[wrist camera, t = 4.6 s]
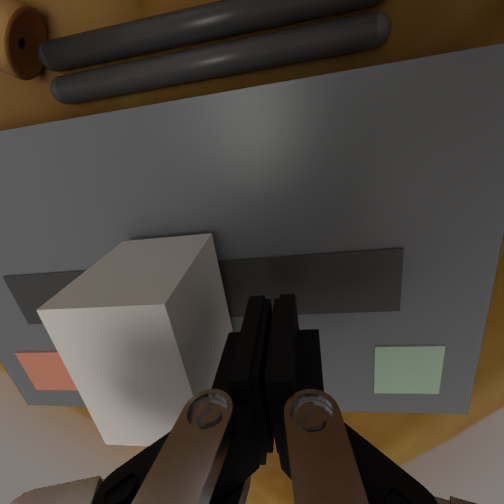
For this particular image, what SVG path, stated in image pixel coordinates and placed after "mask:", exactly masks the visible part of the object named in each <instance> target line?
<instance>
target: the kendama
mask: <svg viewBox="0 0 504 504" xmlns="http://www.w3.org/2000/svg"><path fill="white" fill-rule="evenodd" d="M47 40H48V35H47V29H46V26H45V23H44V21H43V18H42V17H41V15H40V14H39V12H38V11H37V10H36V9H35V8H33V7H32V6H29V5H27V4H25V3H22V2H19V1H16V0H0V70H2V71H4V72H6V73H8V74H10V75H12V76H14V77H16V78H19V79H21V80H30V79H33V78H35V77H36V76H37V75H38V74H39V73H40V72H41V71H42V69H43V67H44V65H43V64H42V63H41V62H40V60H39V58H38V54H37V50H38V46H39V45H40V44H41V43H42V42H44V41H47Z"/></svg>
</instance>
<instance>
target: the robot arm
mask: <svg viewBox="0 0 504 504" xmlns="http://www.w3.org/2000/svg"><path fill="white" fill-rule="evenodd" d="M274 438H275V443H276V448H277V453H279V458H280V463H281V469H282V470H283V471H284V472H285V473H286V474H287V476H288V477H289V478H290V479H291V480H292V487H293V496H294V504H476V503H472V502H469V501H465V500H462V499H458V498H455V497H451V496H450V501H449V500H445V499H442V498H438V497H435V496H433V495H432V494H431V493H430V492H429V491H428V490H427V489H426V488H425V487H424V486H422V485H421V484H420V483H419V482H418V481H416V480H415V479H414V478H413V477H411V476H410V475H409V474H408V473H406V472H405V471H404V470H403V469H402V468H400V467H399V466H398V465H397V464H395V463H394V462H393V461H392V460H390V459H389V458H388V457H387V456H385V455H384V454H383V453H382V452H380V451H379V450H378V449H377V448H375V447H374V446H373V445H372V444H370V443H369V442H368V441H367V440H365V439H364V438H363V437H362V436H360V435H359V434H358V433H357V432H355V431H354V430H353V429H352V428H350V427H349V426H348V425H347V424H346V423H344V421H343V418H342V415H341V412H340V408H339V406H338V404H337V402H336V401H335V400H334V399H333V398H332V397H331V396H330V395H329V394H327V393H325V392H324V385H323V373H322V361H321V350H320V338H319V329H305V330H299V322H298V313H297V305H296V296H295V293H293V294H280V298H275V299H274V305H273V311H272V304H271V299H266V298H265V296H264V295H258V296H249V299H248V303H247V307H246V311H245V315H244V318H243V322H242V326H241V330H240V332H230V333H229V334H228V336H227V340H226V343H225V346H224V349H223V353H222V356H221V359H220V362H219V366H218V369H217V372H216V375H215V379H214V382H213V385H212V388H211V389H208V390H204V391H201V392H199V393H197V394H195V395H194V396H193V397H192V398H191V399H189V400H188V402H187V403H186V405H185V406H184V408H183V409H182V411H181V413H180V415H179V417H178V419H177V421H176V422H175V424H174V426H173V428H172V430H171V431H170V432H168V433H167V434H166V435H164V436H163V437H161V438H160V439H158V440H157V441H156V442H154V443H153V444H151V445H150V446H148V447H147V448H146V449H144V450H143V451H141V452H140V453H139V454H137V455H136V456H134V457H133V458H132V459H130V460H129V461H127V462H126V463H124V464H123V465H122V466H120V467H119V468H117V469H116V470H115V471H113V472H112V473H111V474H110V475H109V476H108V477H107V478H106V479H101V477H100V476H96V477H91V478H86V479H82V480H77V481H72V482H67V483H63V484H57V485H53V486H48V487H43V488H38V489H34V490H31V491H28V492H26V493H24V494H22V495H21V496H19V497H18V498H16V499H15V500H13V502H12V503H10V504H245V503H246V499H247V496H248V492H249V488H250V482H251V475H252V474H253V473H254V472H255V471H256V470H257V469H258V468H259V466H260V465H266V456H267V453H272V452H273V445H274Z"/></svg>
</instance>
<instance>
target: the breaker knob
mask: <svg viewBox="0 0 504 504" xmlns="http://www.w3.org/2000/svg"><path fill="white" fill-rule="evenodd" d="M36 311H37V313H38V315H39V317H40V319H41V320H42V322H43V324H44V326H45V328H46V330H47V332H48V334H49V336H50V338H51V340H52V342H53V343H54V345H55V347H56V349H57V351H58V353H59V355H60V357H61V359H62V361H63V363H64V365H65V367H66V368H67V370H68V372H69V374H70V376H71V378H72V380H73V382H74V384H75V386H76V388H77V390H78V392H79V393H80V395H81V397H82V399H83V401H84V403H85V405H86V407H87V409H88V411H89V413H90V415H91V417H92V418H93V420H94V422H95V424H96V426H97V428H98V430H99V432H100V434H101V435H102V437H103V440H104V442H105V443H106V444H109V445H131V446H150V445H151V444H153V443H154V442H156V441H157V440H158V439H160V438H161V437H163V436H164V435H166V434H167V433H168V432H170V431H171V430H172V428H173V426H174V424H175V422H176V421H177V419H178V417H179V415H180V413H181V411H182V409H183V408H184V406H185V405H186V403H187V402H188V400H189V399H191V398H192V397H193V396H194V395H195V394H197V393H199V392H201V391H204V390H208V389H211V388H212V385H213V382H214V379H215V375H216V372H217V369H218V366H219V362H220V359H221V356H222V353H223V349H224V346H225V343H226V340H227V336H228V334H229V333H230V332H233V330H232V325H231V321H230V316H229V312H228V307H227V302H226V298H225V293H224V288H223V284H222V279H221V274H220V270H219V265H218V260H217V256H216V251H215V246H214V242H213V237H212V233H209V234H198V235H186V236H175V237H164V238H152V239H141V240H130V241H123V242H121V243H120V244H119V245H117V246H116V247H115V248H114V249H112V250H111V251H110V252H109V253H107V254H106V255H105V256H104V257H102V258H101V259H100V260H99V261H97V262H96V263H95V264H94V265H92V266H91V267H90V268H89V269H87V270H86V271H85V272H84V273H82V274H81V275H80V276H78V277H77V278H76V279H75V280H73V281H72V282H71V283H70V284H68V285H67V286H66V287H65V288H63V289H62V290H61V291H60V292H58V293H57V294H56V295H55V296H53V297H52V298H51V299H50V300H48V301H47V302H46V303H44V304H43V305H42V306H41V307H39V308H38V309H37V310H36Z"/></svg>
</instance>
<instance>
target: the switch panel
mask: <svg viewBox="0 0 504 504" xmlns="http://www.w3.org/2000/svg"><path fill="white" fill-rule="evenodd" d="M383 1H384V0H221V1H216V2H212V3H208V4H203V5H199V6H195V7H190V8H186V9H182V10H177V11H173V12H169V13H164V14H160V15H156V16H151V17H147V18H143V19H138V20H134V21H130V22H125V23H121V24H117V25H112V26H108V27H104V28H99V29H95V30H91V31H86V32H82V33H78V34H73V35H69V36H65V37H60V38H56V39H52V40H47V41H44V42H42V43H41V44H40V45H39V46H38V50H37V54H38V58H39V60H40V62H41V63H42V64H43V65H44V66H45V67H46V68H47V69H49V70H51V71H56V72H57V71H64V70H68V69H73V68H78V67H83V66H88V65H92V64H97V63H102V62H107V61H112V60H116V59H121V58H126V57H131V56H136V55H140V54H145V53H150V52H155V51H160V50H164V49H169V48H174V47H179V46H184V45H189V44H193V43H198V42H203V41H208V40H213V39H217V38H222V37H227V36H232V35H237V34H241V33H246V32H251V31H256V30H261V29H265V28H270V27H275V26H280V25H285V24H289V23H294V22H299V21H304V20H309V19H313V18H318V17H323V16H328V15H333V14H337V13H342V12H347V11H352V10H357V9H361V8H366V7H371V6H375V5H378V4H380V3H381V2H383ZM390 32H391V20H390V18H389V16H388V15H387V14H386V13H384V12H382V11H375V12H370V13H365V14H360V15H355V16H350V17H346V18H341V19H336V20H331V21H326V22H321V23H316V24H311V25H306V26H302V27H297V28H292V29H287V30H282V31H277V32H272V33H267V34H263V35H258V36H253V37H248V38H243V39H238V40H233V41H228V42H223V43H219V44H214V45H209V46H204V47H199V48H194V49H189V50H184V51H180V52H175V53H170V54H165V55H160V56H155V57H150V58H145V59H141V60H136V61H131V62H126V63H121V64H116V65H111V66H106V67H101V68H97V69H92V70H87V71H82V72H77V73H72V74H67V75H62V76H58V77H55V78H54V79H53V80H52V81H51V84H50V90H51V93H52V95H53V96H54V98H55V99H56V100H57V101H59V102H61V103H63V104H74V103H80V102H85V101H90V100H96V99H101V98H107V97H112V96H118V95H123V94H128V93H134V92H139V91H145V90H150V89H156V88H161V87H166V86H172V85H177V84H183V83H188V82H194V81H199V80H204V79H210V78H215V77H221V76H226V75H231V74H237V73H242V72H248V71H253V70H259V69H264V68H269V67H275V66H280V65H286V64H291V63H297V62H302V61H307V60H313V59H318V58H324V57H329V56H335V55H340V54H345V53H351V52H356V51H362V50H367V49H373V48H376V47H379V46H381V45H382V44H383V43H384V42H385V41H386V40H387V38H388V37H389V34H390ZM209 233H212V237H213V242H214V246H215V251H216V256H217V260H218V265H219V270H220V274H221V279H222V284H223V288H224V293H225V298H226V302H227V307H228V312H229V316H230V321H231V325H232V330H233V332H240V330H241V326H242V322H243V318H244V315H245V311H246V307H247V303H248V299H249V296H258V295H264V296H265V298H266V299H271V304H272V311H273V305H274V299H275V298H280V294H293V293H295V296H296V305H297V313H298V322H299V330H305V329H319V338H320V350H321V361H322V373H323V385H324V392H325V393H327V394H329V395H330V396H331V397H332V398H333V399H334V400H335V401H336V402H337V404H338V406H339V408H340V411H348V412H397V413H447V414H468V410H469V405H470V400H471V395H472V390H473V385H474V380H475V375H476V370H477V365H478V360H479V355H480V350H481V345H482V340H483V335H484V330H485V325H486V320H487V315H488V310H489V305H490V300H491V295H492V290H493V285H494V280H495V275H496V270H497V265H498V260H499V255H500V250H501V245H502V240H503V235H504V43H501V44H496V45H490V46H484V47H478V48H473V49H467V50H461V51H456V52H450V53H444V54H438V55H433V56H427V57H421V58H415V59H410V60H404V61H398V62H393V63H387V64H381V65H375V66H370V67H364V68H358V69H352V70H347V71H341V72H335V73H329V74H324V75H318V76H312V77H307V78H301V79H295V80H289V81H284V82H278V83H272V84H266V85H261V86H255V87H249V88H243V89H238V90H232V91H226V92H221V93H215V94H209V95H203V96H198V97H192V98H186V99H180V100H175V101H169V102H163V103H158V104H152V105H146V106H140V107H135V108H129V109H123V110H117V111H112V112H106V113H100V114H94V115H89V116H83V117H77V118H72V119H66V120H60V121H54V122H49V123H43V124H37V125H31V126H26V127H20V128H14V129H9V130H3V131H0V361H1V363H2V365H3V366H4V368H5V369H6V371H7V373H8V374H9V376H10V377H11V379H12V380H13V382H14V384H15V385H16V387H17V388H18V390H19V392H20V393H21V395H22V396H23V398H24V400H25V401H26V402H27V404H28V405H52V406H86V405H85V403H84V401H83V399H82V397H81V395H80V393H79V392H78V390H77V388H76V386H75V384H74V382H73V380H72V378H71V376H70V374H69V372H68V370H67V368H66V367H65V365H64V363H63V361H62V359H61V357H60V355H59V353H58V351H57V349H56V347H55V345H54V343H53V342H52V340H51V338H50V336H49V334H48V332H47V330H46V328H45V326H44V324H43V322H42V320H41V319H40V317H39V315H38V313H37V311H36V310H37V309H38V308H39V307H41V306H42V305H43V304H44V303H46V302H47V301H48V300H50V299H51V298H52V297H53V296H55V295H56V294H57V293H58V292H60V291H61V290H62V289H63V288H65V287H66V286H67V285H68V284H70V283H71V282H72V281H73V280H75V279H76V278H77V277H78V276H80V275H81V274H82V273H84V272H85V271H86V270H87V269H89V268H90V267H91V266H92V265H94V264H95V263H96V262H97V261H99V260H100V259H101V258H102V257H104V256H105V255H106V254H107V253H109V252H110V251H111V250H112V249H114V248H115V247H116V246H117V245H119V244H120V243H121V242H123V241H130V240H141V239H152V238H164V237H175V236H186V235H198V234H209Z"/></svg>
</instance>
